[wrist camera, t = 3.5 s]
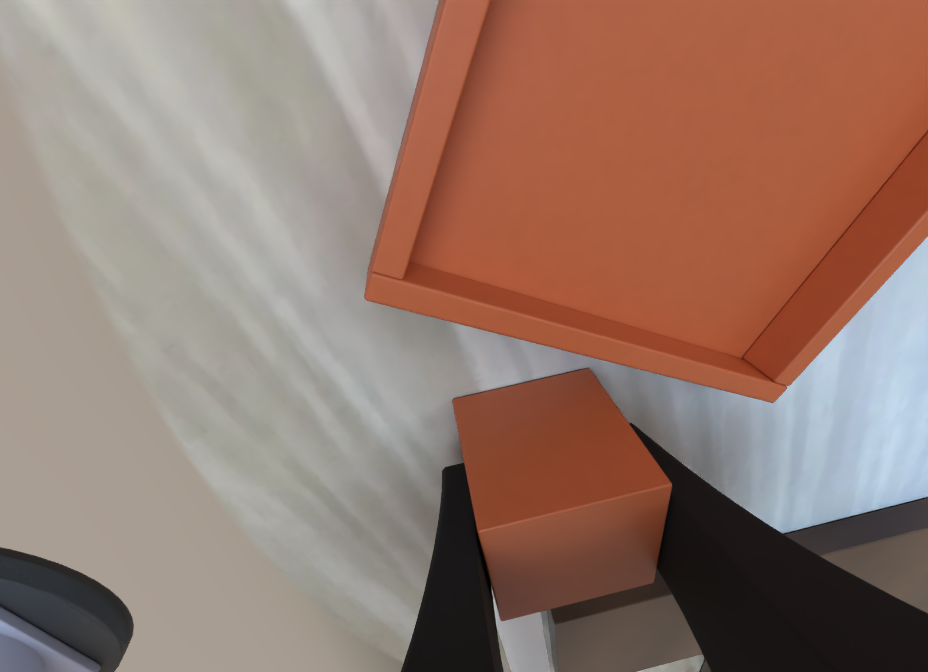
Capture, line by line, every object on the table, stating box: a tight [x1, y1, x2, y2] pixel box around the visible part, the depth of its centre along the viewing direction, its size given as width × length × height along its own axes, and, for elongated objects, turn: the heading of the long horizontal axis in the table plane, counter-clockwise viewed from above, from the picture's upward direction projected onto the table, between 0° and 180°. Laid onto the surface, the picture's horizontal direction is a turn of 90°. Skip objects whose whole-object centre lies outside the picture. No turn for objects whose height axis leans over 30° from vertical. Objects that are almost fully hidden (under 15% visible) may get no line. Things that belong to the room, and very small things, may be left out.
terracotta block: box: [452, 368, 672, 621], centre depth 11 cm, size 4×4×4 cm
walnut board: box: [547, 498, 928, 672], centre depth 23 cm, size 32×18×1 cm, turn 99°
